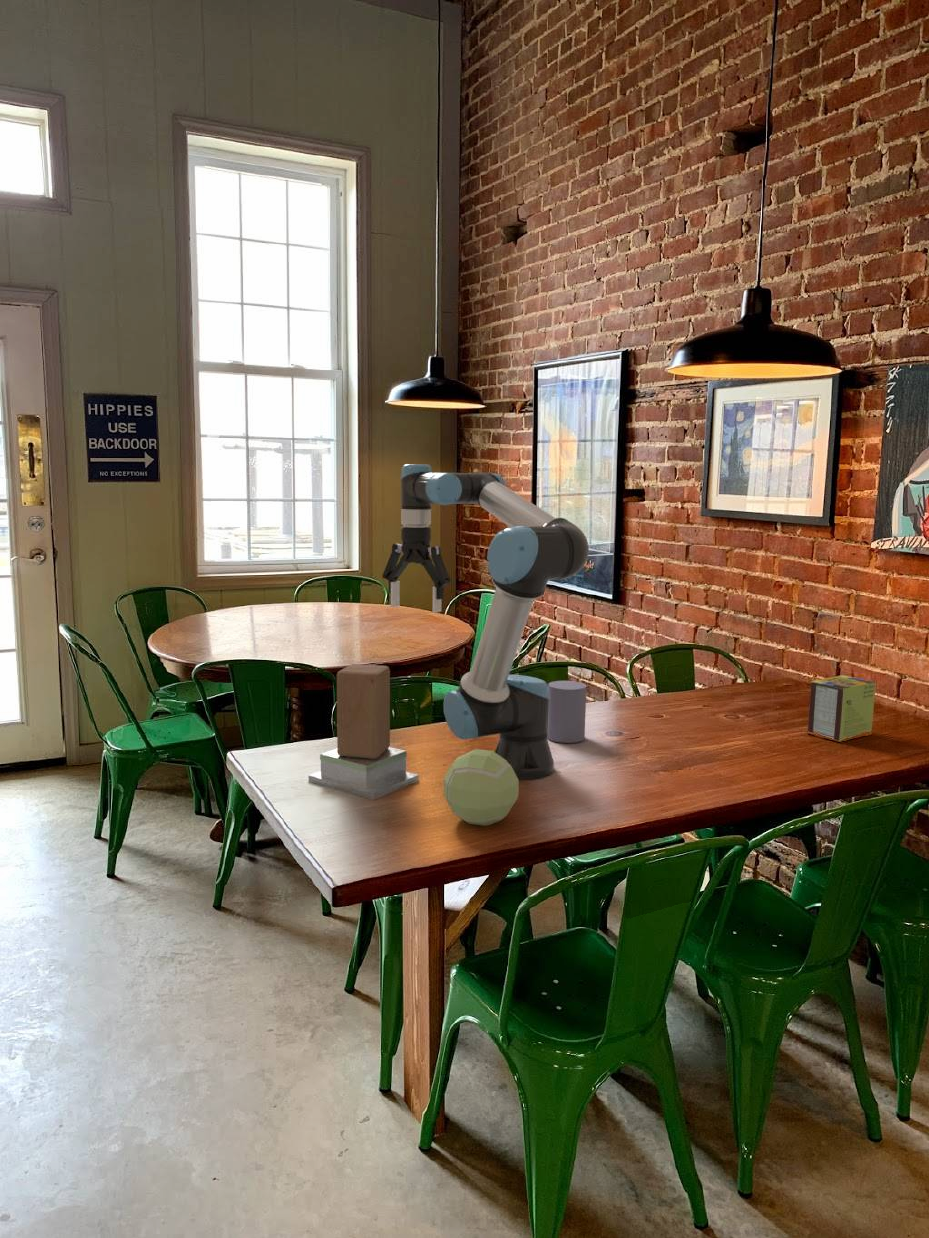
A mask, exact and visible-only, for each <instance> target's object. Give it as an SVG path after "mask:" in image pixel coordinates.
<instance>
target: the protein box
mask: <svg viewBox="0 0 929 1238" xmlns="http://www.w3.org/2000/svg"><path fill="white" fill-rule="evenodd" d="M876 684H877V683H876V681H873V680H868V679H865V678H859V677H854V676H849V675H844V674H840V675H838V676H831V677H827V678H821V679H817V680H811V681H810V693H809V694H810V695H809V707H808V721H807V724H808V725H807V732H808V731H809V732H814V733H817V734H820V735H823V736H826V737H829V738H832V739H836V740H839V741H841V740H843V739H846V738H851V737H853V736H856V735H860V734H862V733H865V732H871V731H872V732H873V730H872V728H873V722H874V719H873V718H874V708H875V697H876V686H877V685H876ZM872 732H871V733H872Z"/></svg>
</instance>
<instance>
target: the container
mask: <svg viewBox="0 0 929 1238" xmlns="http://www.w3.org/2000/svg"><path fill="white" fill-rule="evenodd" d="M547 684H548V692H549V705H548V733H547V740H550V741H552V742H554V743H559V744H576V743H580V742H582V741H584V740H585V735H586V734H585V733H586V709H587V684H585V683H584V682H579V681H574V680H555V681H550V682H549V683H547Z"/></svg>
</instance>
